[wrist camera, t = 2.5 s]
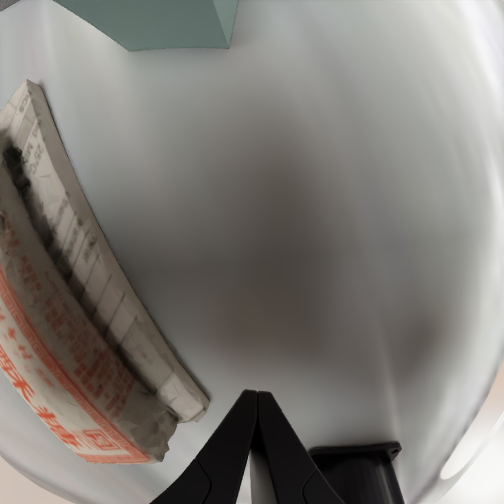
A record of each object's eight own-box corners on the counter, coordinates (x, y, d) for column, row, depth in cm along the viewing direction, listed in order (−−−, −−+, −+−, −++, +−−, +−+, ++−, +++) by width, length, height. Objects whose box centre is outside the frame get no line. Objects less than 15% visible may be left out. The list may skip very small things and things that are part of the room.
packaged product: (204, 474, 9) (70, 470, 10) (219, 398, 13) (97, 420, 15) (-24, 65, 4) (-90, 205, 6) (48, 80, 9) (-37, 190, 11)
